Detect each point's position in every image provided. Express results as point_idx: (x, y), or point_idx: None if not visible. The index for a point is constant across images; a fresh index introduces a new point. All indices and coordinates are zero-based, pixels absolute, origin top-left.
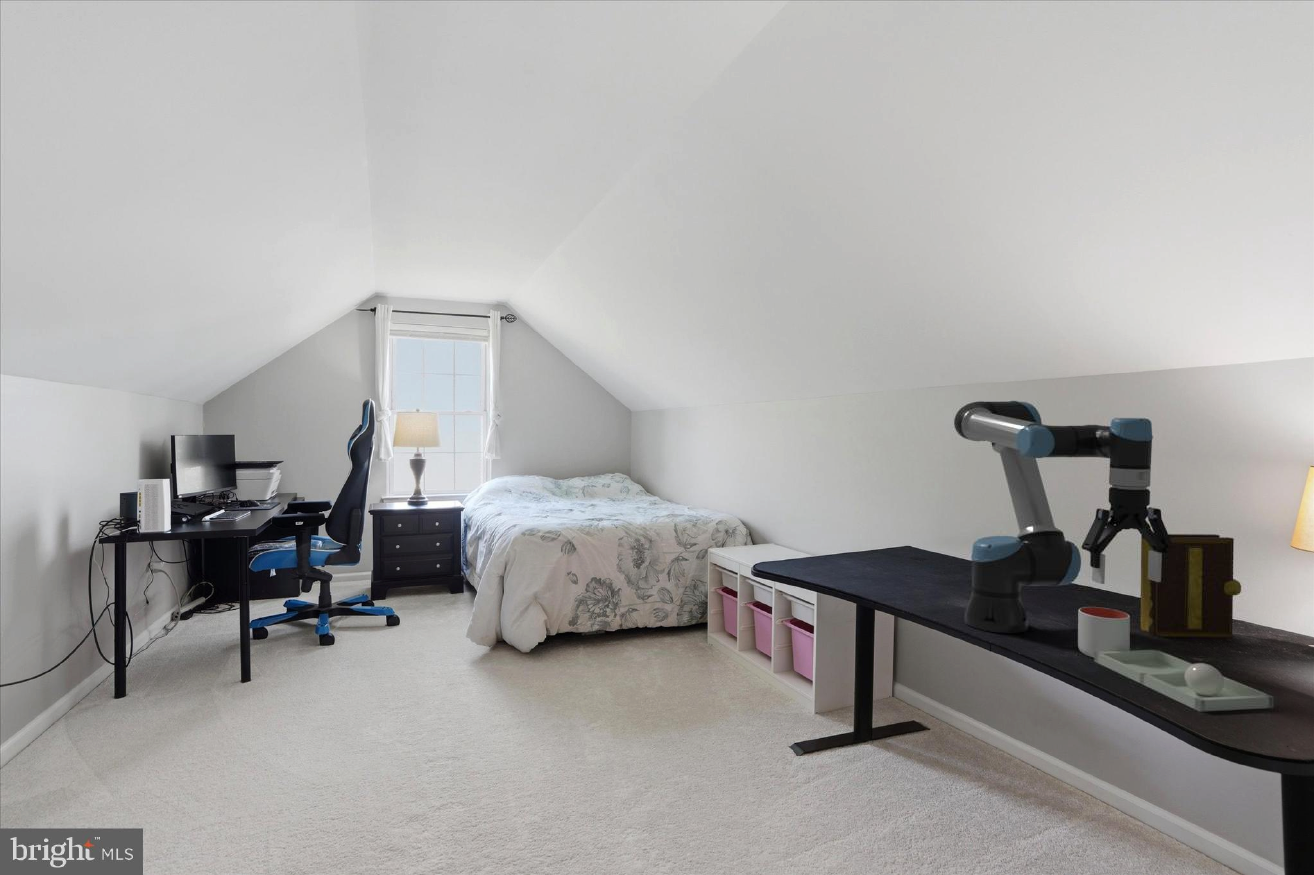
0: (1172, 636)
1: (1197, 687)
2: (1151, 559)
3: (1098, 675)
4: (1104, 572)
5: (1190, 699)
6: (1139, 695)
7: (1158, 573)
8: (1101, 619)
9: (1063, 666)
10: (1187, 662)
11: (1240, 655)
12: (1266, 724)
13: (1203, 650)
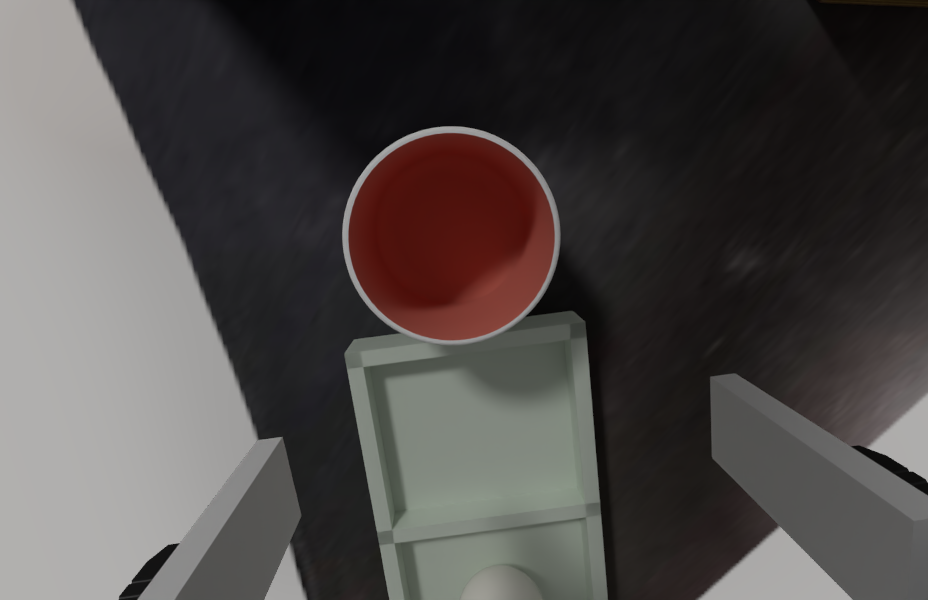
0: (866, 4)
1: None
2: (827, 498)
3: (324, 412)
4: (270, 578)
5: None
6: (352, 544)
7: (752, 496)
8: (389, 325)
9: (253, 341)
10: (591, 441)
11: (916, 223)
12: None
13: (839, 173)
